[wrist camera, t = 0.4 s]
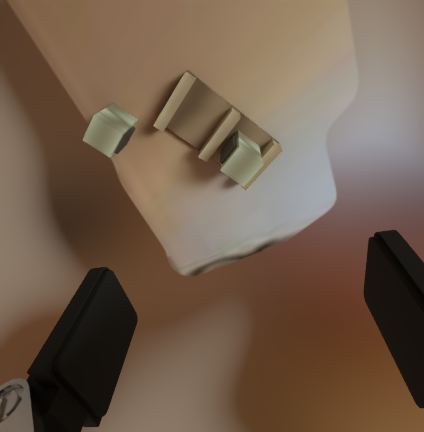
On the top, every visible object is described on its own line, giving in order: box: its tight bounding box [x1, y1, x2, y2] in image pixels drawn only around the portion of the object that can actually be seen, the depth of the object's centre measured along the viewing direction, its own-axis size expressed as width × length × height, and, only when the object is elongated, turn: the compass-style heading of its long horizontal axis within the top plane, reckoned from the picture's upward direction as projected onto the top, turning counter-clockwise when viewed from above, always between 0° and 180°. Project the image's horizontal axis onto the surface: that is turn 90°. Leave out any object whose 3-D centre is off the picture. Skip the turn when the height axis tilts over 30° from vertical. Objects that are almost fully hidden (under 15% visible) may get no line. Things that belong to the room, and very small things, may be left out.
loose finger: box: [83, 103, 138, 157], centre depth 39 cm, size 4×4×7 cm
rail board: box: [153, 71, 282, 190], centre depth 39 cm, size 16×8×8 cm, turn 54°
